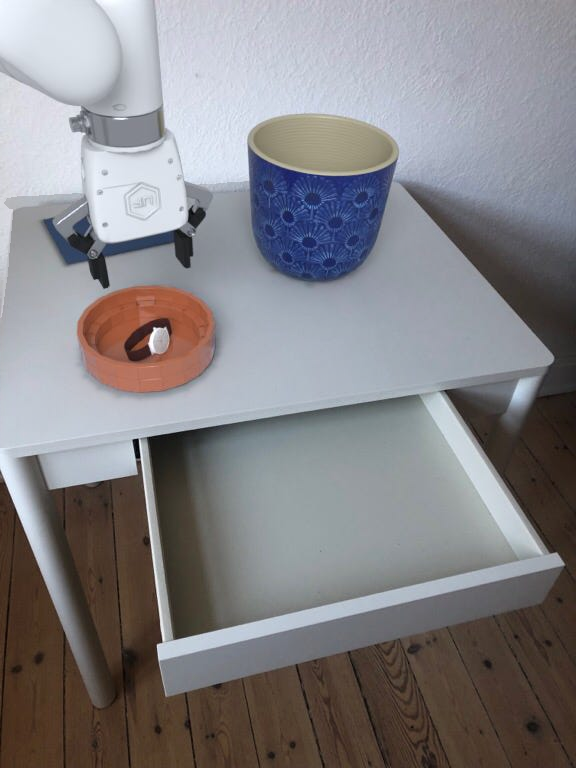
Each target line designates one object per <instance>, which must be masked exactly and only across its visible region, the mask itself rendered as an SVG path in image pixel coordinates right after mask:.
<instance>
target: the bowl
mask: <svg viewBox="0 0 576 768" xmlns="http://www.w3.org/2000/svg"><path fill="white" fill-rule="evenodd" d="M160 318H167V319H169V321H170V325H171V330H172V334H171V336H170V337H169V344H168V347H167V349H166V351H165V352H164V353H161V354H155V353H154V354H153V355H152V354H151V355H150V356H149V357H147V358H145V359H143V360H140V361H131V360H129V359H128V356H127V354H126V351H125V349H124V344H125V342H126V340H127V339H128V338H129V337H130V336H131V334H132V333H133V332H134V331H135V330H136V329H138V328H139V327H141V326H143V325H144V324H146V323H148V322H150V321H152V320H155V319H160ZM215 326H216V325H215V320H214V313H213V312H212V310H211V309H210V308H209V306H208V305H207V304H206V302H205V301H204V300H203V299H201V298H199V297H198V296H196V295H195V294H193V293H191V292H189V291H186V290H182V289H181V288H180V289H179V288H177V287H174V286H166V285H158V284H149V285H135V286H129V287H126V288H122V289H116V290H114V291H111V292H109V293H107V294H105V295H103V296H101V297H98V298H97V299H96V300H95V301H93V302H92V303H91V304H89V305H88V306H87V307H86V308H85V309H84V310H83V312H82V314H81V316H80V317H79V319H78V320H77V325H76V338H77V342H78V347H79V353H80V358H81V361H82V363H83V365H84V366H85V367H84V368H86V370H87V372H88V373H89V374H90V375H91V376H92V377H94V378H95V379H96V380H97V381H98V382H100V383H101V384H103V385H106V386H109V387H111V388H114V389H116V390H120V391H127V392H134V393H150V392H151V393H152V392H162V391H166V390H169V389H172V388H176V387H179V386H182V385H185V384H186V383H188V382H190V381H191V380H193V379H195V378H197V377H198V376H200V375H201V374H202V373H203V372H204V371H205V369H206V368H208V366H209V365H210V364H211V363H212V360H213V356H214V354H215V350H216V331H215V330H216V327H215ZM151 334H152V333H151ZM151 334H149V335H147V336H146V337H144V339H143V340H141V341H140V342H139V343H138V344H136V345H135V346H134V347H133V348H132V350H131V351H135V350H138V349H141V348H142V347H144V346H146V345H147V344H148V343H149V340H150V336H151Z"/></svg>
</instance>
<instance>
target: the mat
mask: <svg viewBox="0 0 576 768" xmlns="http://www.w3.org/2000/svg"><path fill="white" fill-rule="evenodd" d="M55 217H56V216H55ZM55 217H50V218H44V219H43V223H44V225H45V226H46V228H47V230H48V232H49V234H50V235H51V238H52V239H53V241H54V243H55V245H56V246H57V248H58V250H59V252H60V254H61V256H62V258H63V260H64V261H65V263H66V265H70V264H76V263H81V262H85V261H88V258H87V255H86V254H84V253H83V252H81V251H79V250H77V249H75V248H74V247H72V246H71V245H70V244H69V243H68V241H67V240H65V238H64V237H63V236H62V235H61V234H60V233H59V232H58V231H57V230H56V228H55V226H54V224H53V219H54V218H55ZM90 225H91V224H90V223H89V222H88V219H87V216H86V217H84V218H83V219H82V220H80V221H79V222H77V223H76V224H75V225H74V226H73V229H74V230H75V231H76V232H78V233H80V234H82V235H83V236H84V235H85V233H86V231H87V230H88V228H89V227H90ZM169 243H174V233H173V231H169V232H165V233H161V234H156V235H152V236H148V237H143V238H139V239H134V240H129V241H124V242H119V243H107V244H106V245H105V247H104V248H103V250H102V254H103V255H104V257H108V256H114V255H118V254H122V253H127V252H131V251H136V250H137V251H138V250H141V249H147V248H150V247H155V246H160V245H164V244H169Z"/></svg>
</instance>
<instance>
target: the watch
mask: <svg viewBox="0 0 576 768" xmlns="http://www.w3.org/2000/svg"><path fill="white" fill-rule="evenodd" d="M151 333H152V334H151ZM149 334H151V336H150V340H149V343H148V344H147V345H146V346H144V347H142V348H141V349H138V350H135V351H131V350H132V348H133V347H134V346H135V345H136V344H138V343H139V342H140V341H141V340H143V339H144V337H146V336H147V335H149ZM171 334H172V330H171V325H170V321H169V319H167V318H160V319H155V320H152V321H150V322H148V323H146V324H144V325H143V326H141V327H139V328H138V329H136V330H135V331H134V332H133V333H132V334H131V336H130V337H129V338H128V339H127V340H126V342H125V344H124V349H125V351H126V354H127V356H128V359H129V360H131V361H140V360H143V359H145V358H147V357H149V356H150V355H151V354H152V355H153V354H154V353H155V354H161V353H164V352H165V351H166V349H167V347H168V344H169V337H170V336H171Z"/></svg>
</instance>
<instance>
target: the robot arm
mask: <svg viewBox="0 0 576 768" xmlns="http://www.w3.org/2000/svg"><path fill="white" fill-rule="evenodd" d="M156 7H157V6H156V0H0V73H2V74H4V75H6V76H8V77H10V78H11V79H13V80H15V81H17V82H19V83H21V84H24V85H26V86H28V87H30V88H32V89H33V90H36V91H38V92H39V93H41V94H43V95H45V96H47V97H48V98H51V99H52V100H53V101H55V102H59V103H61V104H65V105H68V106H72V107H73V106H75V107H80V110H79V114H76V115H75V116H71V117H68V123H69V126H70V130H71V132H72V133H81V134H82V133H83V134H84V135H82V137H81V142H80V143H81V145H80V172H81V174H80V175H81V186H82V187H81V188H82V197H81V198H80V199H78V200H77V201H76V202H74V203H73V204H71V205H70V206H68V207H67V208H66V209H64V210H63V211H62V212H61V213H59V214H58V215H56V216H55V218H54V217H53V218H54V219H53V224H54V226H55V228H56V230H57V231H58V232H59V233H60V234H61V235H62V236H63V237H64V238H65V240H67V241H68V243H69V244H70V245H71V246H72V247H74V248H75V249H77V250H79V251H81V252H83V253H84V254H86V255H87V258H88V260H87V263H88V268H89V273H90V276H91V278H92V280H93V281H96V280H97V281H98V282H99V283H100V285H101V288H102V289H103V290H106V289H109V287H111V284H110V278H109V274H108V272H109V271H108V266H107V260H106V256H104V255H103V254H102V250H103V248H104V247H105V245H106V244H107V243H119V242H124V241H129V240H134V239H139V238H143V237H148V236H152V235H156V234H161V233H165V232H169V231H173V233H174V242H173V245H174V255H175V258H176V260H178V262H179V263H180V264H181V266H182V267H183V268H184V269H191V268H192V265H191V263H192V261H191V258H192V257H194V243H193V237H194V236H195V235H196V234H197V228H198V227H199V226H200V224H202V222H203V221H204V219H206V216H207V210H208V209H209V207H210V205H211V202H212V200H213V197H214V195H213V193H212V192H211V191H210V189H208V188H207V187H205V186H202V185H198V184H196V183H192V182H188V181H186V180H185V176H184V170H183V165H182V160H181V155H180V151H179V147H178V143H177V140H176V137H175V134H174V133H173V132H172V131H171V130H170V129H168V128H167V127H166V120H165V109H164V108H165V107H164V98H163V84H162V72H161V59H160V57H161V56H160V46H159V45H160V44H159V36H158V35H159V34H158V20H157V8H156ZM188 198H191V199H194V202H193V204H192V205H191V207H190V208H189V204H188V203H189V202H188ZM86 216H87V219H88V222H89V223H90V224H91V225H90V227H89V228H88V230H87V231H86V233H85V235H84V236H83V235H82V234H80V233H78V232H76V231H75V230H74V229H73V226H74V225H75V224H76V223H77V222H79V221H80V220H82V219H83V218H84V217H86Z"/></svg>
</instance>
